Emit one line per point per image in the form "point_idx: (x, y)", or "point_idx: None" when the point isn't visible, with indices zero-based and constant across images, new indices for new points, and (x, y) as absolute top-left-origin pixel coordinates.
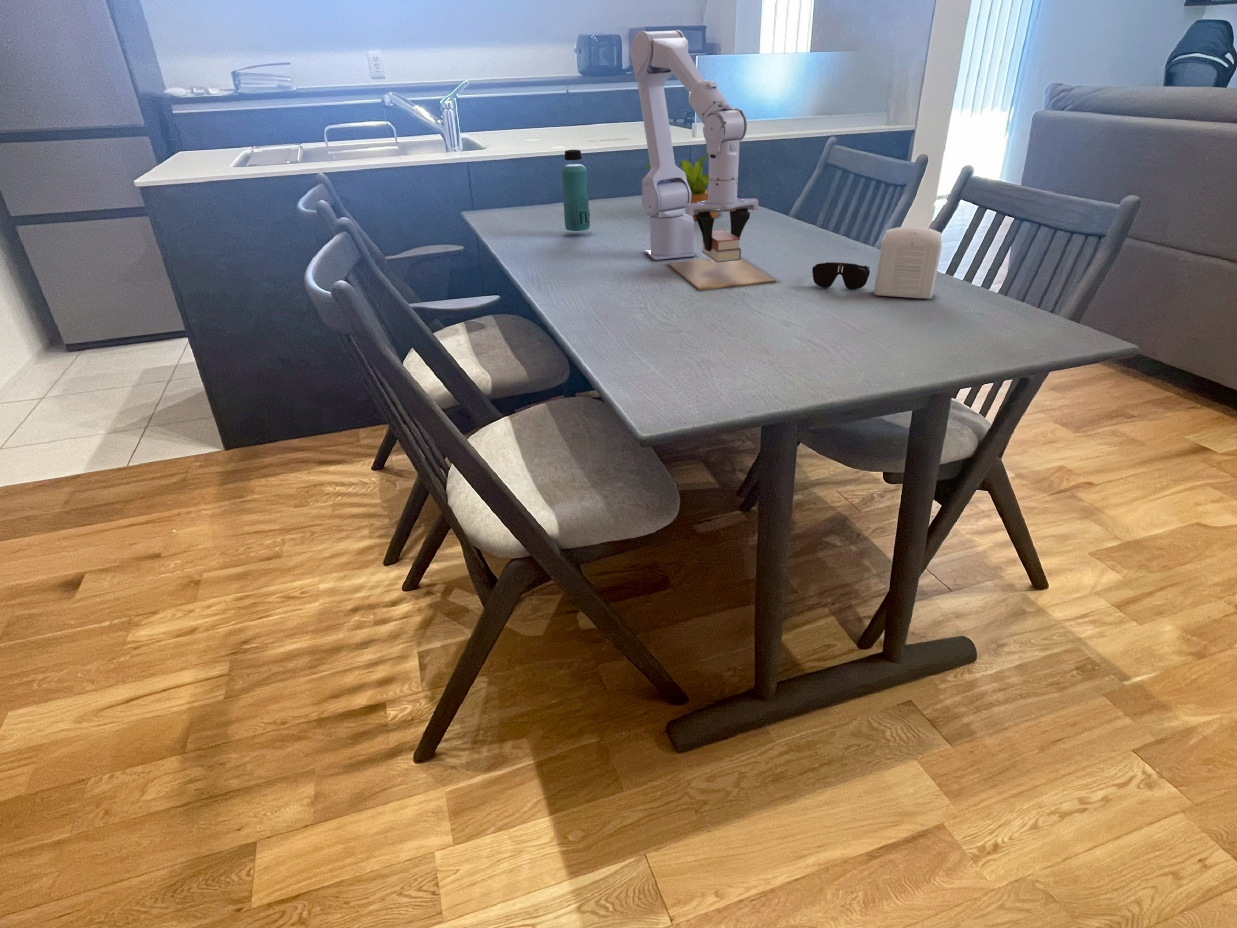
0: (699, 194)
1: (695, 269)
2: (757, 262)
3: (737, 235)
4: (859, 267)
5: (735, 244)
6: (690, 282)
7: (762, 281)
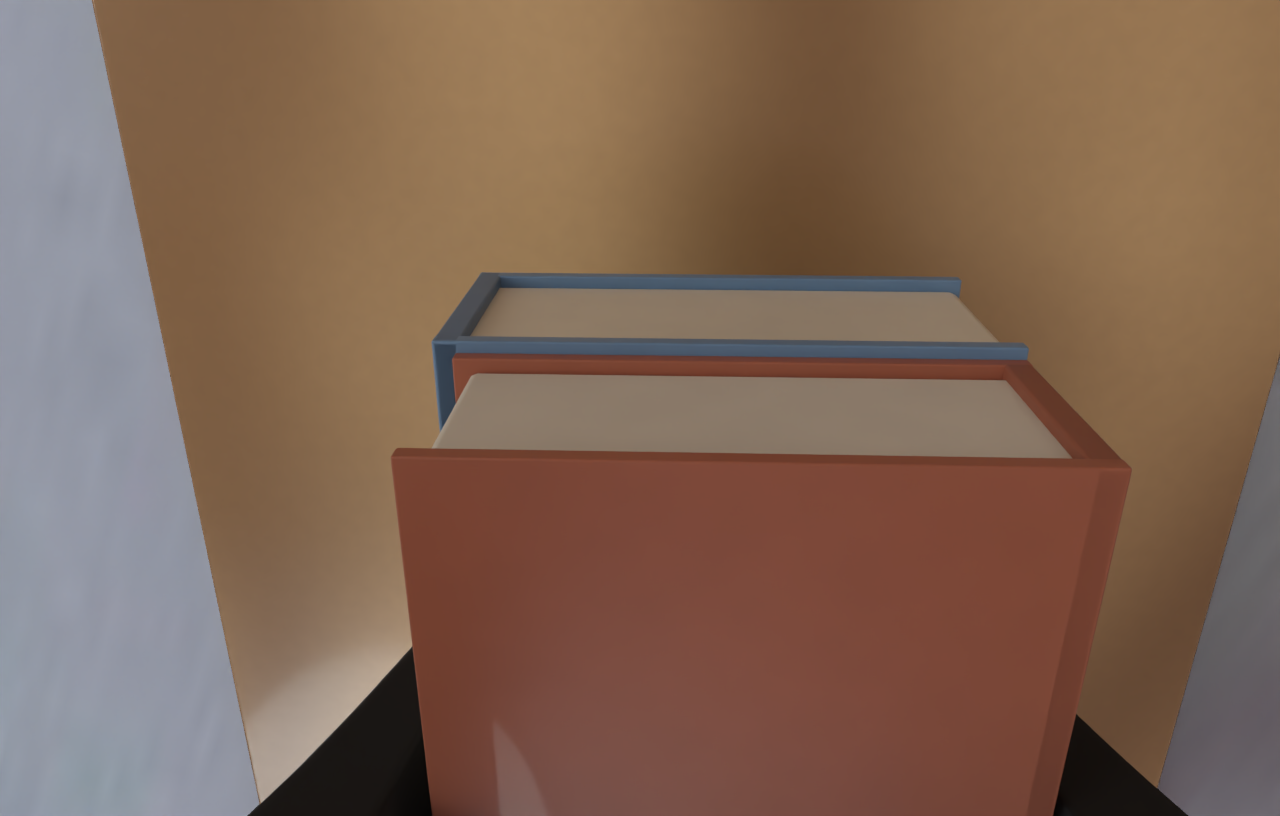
0: None
1: None
2: (120, 728)
3: (359, 788)
4: None
5: (552, 412)
6: None
7: None
